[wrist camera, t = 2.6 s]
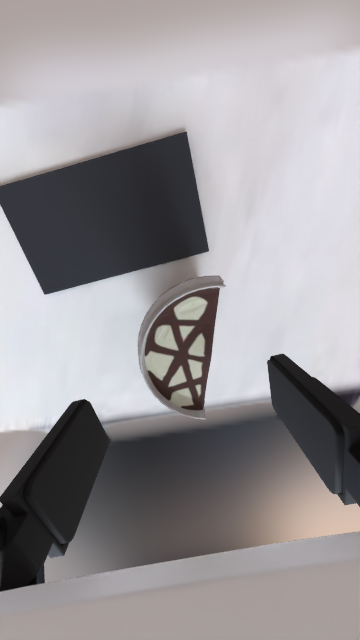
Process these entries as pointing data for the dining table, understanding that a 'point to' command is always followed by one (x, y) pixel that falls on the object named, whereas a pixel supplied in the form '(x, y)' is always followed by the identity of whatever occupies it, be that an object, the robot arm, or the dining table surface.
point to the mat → (108, 214)
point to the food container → (180, 344)
